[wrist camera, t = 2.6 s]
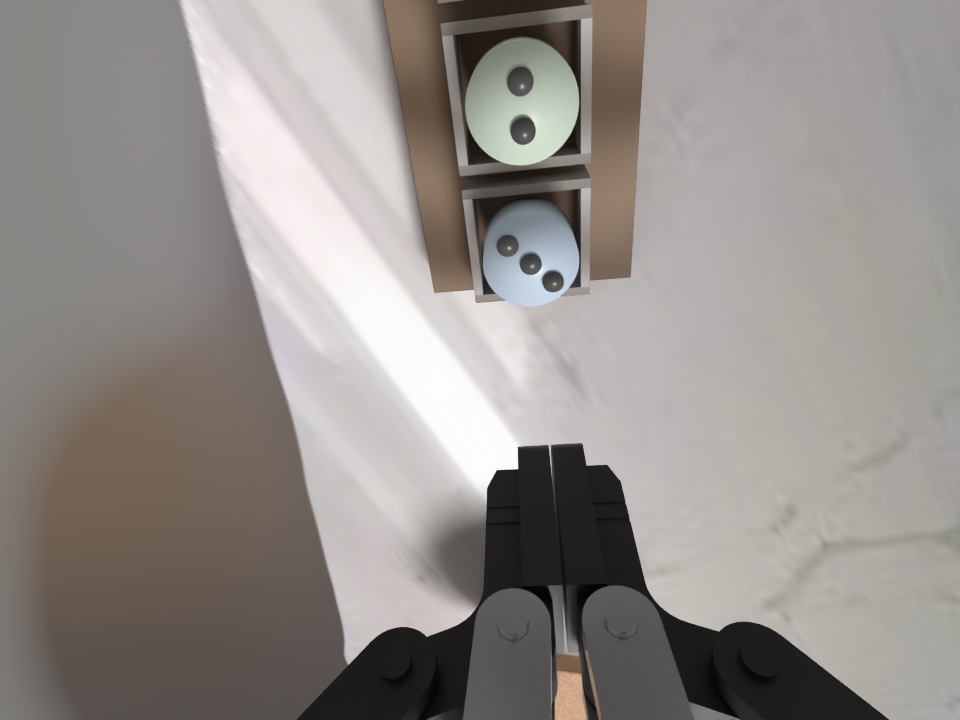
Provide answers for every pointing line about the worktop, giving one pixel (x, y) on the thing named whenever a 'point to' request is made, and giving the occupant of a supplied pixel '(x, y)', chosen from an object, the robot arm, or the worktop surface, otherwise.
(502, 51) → the two-pip button
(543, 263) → the three-pip button
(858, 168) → the worktop surface
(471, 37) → the button panel
